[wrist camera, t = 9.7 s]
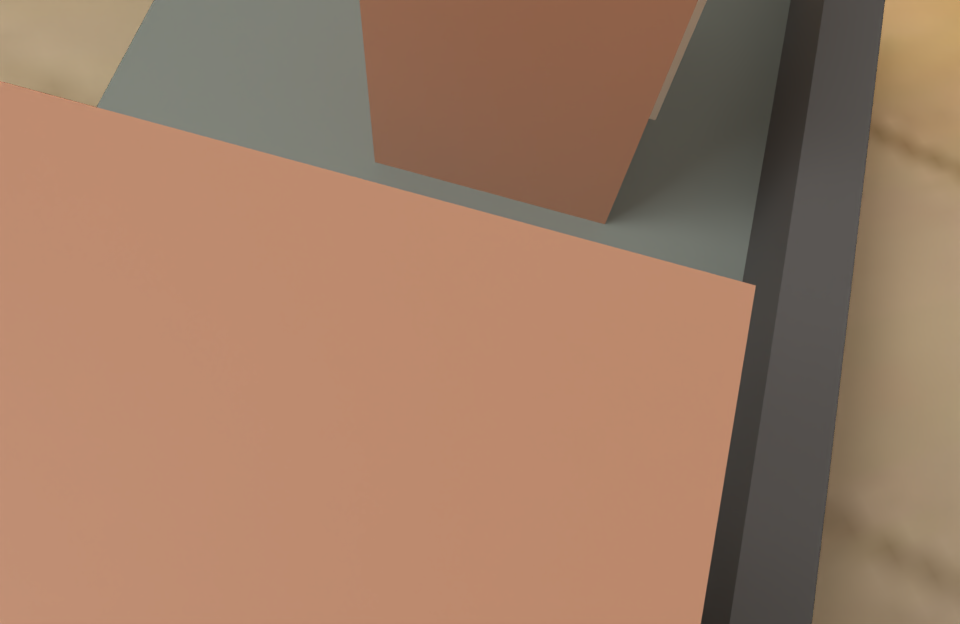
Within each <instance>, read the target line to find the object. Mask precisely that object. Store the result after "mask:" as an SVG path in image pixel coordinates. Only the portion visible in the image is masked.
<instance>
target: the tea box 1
mask: <svg viewBox="0 0 960 624" xmlns="http://www.w3.org/2000/svg"><path fill="white" fill-rule="evenodd" d="M359 1H360V12H361V22H362V33H363V43H364V53H365V64H366V74H367V85H368V95H369V106H370V116H371V126H372V137H373V147H374V158H375V162H377V163H380V164H384V165H388V166H391V167H395V168H399V169H402V170H406V171H410V172H413V173H417V174H421V175H424V176H428V177H432V178H436V179H439V180H443V181H447V182H450V183H454V184H458V185H461V186H465V187H469V188H472V189H476V190H480V191H484V192H487V193H491V194H495V195H498V196H502V197H506V198H509V199H513V200H517V201H520V202H524V203H528V204H532V205H535V206H539V207H543V208H546V209H550V210H554V211H557V212H561V213H565V214H568V215H572V216H576V217H579V218H583V219H587V220H591V221H594V222H598V223H602V224H605V223H606V221H607V218H608V216H609V213H610V211H611V209H612V206H613V204H614V201H615V199H616V197H617V194H618V192H619V189H620V187H621V184H622V182H623V180H624V177H625V175H626V172H627V170H628V168H629V165H630V163H631V160H632V158H633V156H634V153H635V151H636V148H637V146H638V144H639V141H640V139H641V136H642V134H643V132H644V129H645V127H646V124H647V122H648V120H649V119H652V120H656V118H657V115H658V113H659V111H660V108H661V106H662V104H663V101H664V99H665V97H666V95H667V92H668V90H669V88H670V85H671V83H672V81H673V78H674V76H675V74H676V71H677V69H678V67H679V64H680V62H681V60H682V57H683V55H684V53H685V50H686V48H687V46H688V43H689V41H690V39H691V36H692V34H693V32H694V29H695V27H696V25H697V22H698V20H699V18H700V15H701V13H702V11H703V8H704V6H705V4H706V1H707V0H359Z"/></svg>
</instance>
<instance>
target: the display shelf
mask: <svg viewBox="0 0 960 624" xmlns="http://www.w3.org/2000/svg"><path fill="white" fill-rule="evenodd" d="M884 3H885V0H707V1H706V4H705V6H704V8H703V11H702V13H701V15H700V18H699V20H698V22H697V25H696V27H695V29H694V32H693V34H692V36H691V39H690V41H689V43H688V46H687V48H686V50H685V53H684V55H683V57H682V60H681V62H680V64H679V67H678V69H677V71H676V74H675V76H674V78H673V81H672V83H671V85H670V88H669V90H668V92H667V95H666V97H665V99H664V101H663V104H662V106H661V108H660V111H659V113H658V115H657V118H656V120H652V119H649V120H648V122H647V124H646V127H645V129H644V132H643V134H642V136H641V139H640V141H639V144H638V146H637V148H636V151H635V153H634V156H633V158H632V160H631V163H630V165H629V168H628V170H627V172H626V175H625V177H624V180H623V182H622V184H621V187H620V189H619V192H618V194H617V197H616V199H615V201H614V204H613V206H612V209H611V211H610V213H609V216H608V218H607V221H606V223H605V224H602V223H598V222H594V221H591V220H587V219H583V218H579V217H576V216H572V215H568V214H565V213H561V212H557V211H554V210H550V209H546V208H543V207H539V206H535V205H532V204H528V203H524V202H520V201H517V200H513V199H509V198H506V197H502V196H498V195H495V194H491V193H487V192H484V191H480V190H476V189H472V188H469V187H465V186H461V185H458V184H454V183H450V182H447V181H443V180H439V179H436V178H432V177H428V176H424V175H421V174H417V173H413V172H410V171H406V170H402V169H399V168H395V167H391V166H388V165H384V164H380V163H377V162H375V158H374V147H373V137H372V126H371V116H370V106H369V95H368V85H367V74H366V64H365V53H364V43H363V33H362V22H361V12H360V1H359V0H154V1H153V3H152V5H151V7H150V9H149V11H148V12H147V14H146V16H145V18H144V20H143V22H142V24H141V25H140V27H139V29H138V31H137V33H136V35H135V37H134V38H133V40H132V42H131V44H130V46H129V48H128V50H127V52H126V53H125V55H124V57H123V59H122V61H121V63H120V65H119V66H118V68H117V70H116V72H115V74H114V76H113V78H112V79H111V81H110V83H109V85H108V87H107V89H106V91H105V92H104V94H103V96H102V98H101V100H100V102H99V104H98V105H97V107H98V108H101V109H105V110H109V111H113V112H116V113H120V114H124V115H127V116H131V117H135V118H138V119H142V120H146V121H150V122H153V123H157V124H161V125H164V126H168V127H172V128H175V129H179V130H183V131H186V132H190V133H194V134H198V135H201V136H205V137H209V138H212V139H216V140H220V141H223V142H227V143H231V144H235V145H238V146H242V147H246V148H249V149H253V150H257V151H260V152H264V153H268V154H272V155H275V156H279V157H283V158H286V159H290V160H294V161H297V162H301V163H305V164H309V165H312V166H316V167H320V168H323V169H327V170H331V171H334V172H338V173H342V174H345V175H349V176H353V177H357V178H360V179H364V180H368V181H371V182H375V183H379V184H382V185H386V186H390V187H394V188H397V189H401V190H405V191H408V192H412V193H416V194H419V195H423V196H427V197H431V198H434V199H438V200H442V201H445V202H449V203H453V204H456V205H460V206H464V207H468V208H471V209H475V210H479V211H482V212H486V213H490V214H493V215H497V216H501V217H504V218H508V219H512V220H516V221H519V222H523V223H527V224H530V225H534V226H538V227H541V228H545V229H549V230H553V231H556V232H560V233H564V234H567V235H571V236H575V237H578V238H582V239H586V240H590V241H593V242H597V243H601V244H604V245H608V246H612V247H615V248H619V249H623V250H627V251H630V252H634V253H638V254H641V255H645V256H649V257H652V258H656V259H660V260H663V261H667V262H671V263H675V264H678V265H682V266H686V267H689V268H693V269H697V270H700V271H704V272H708V273H712V274H715V275H719V276H723V277H726V278H730V279H734V280H737V281H741V282H745V283H749V284H752V285H756V287H755V294H754V300H753V306H752V312H751V318H750V324H749V330H748V337H747V343H746V349H745V355H744V361H743V367H742V373H741V380H740V386H739V392H738V398H737V404H736V410H735V416H734V423H733V429H732V435H731V441H730V447H729V453H728V459H727V466H726V472H725V478H724V484H723V490H722V496H721V502H720V509H719V515H718V521H717V527H716V533H715V539H714V545H713V552H712V558H711V564H710V570H709V576H708V582H707V588H706V595H705V601H704V607H703V613H702V619H701V624H812V617H813V608H814V600H815V591H816V582H817V574H818V565H819V557H820V548H821V540H822V531H823V523H824V514H825V506H826V497H827V489H828V480H829V472H830V463H831V455H832V446H833V438H834V429H835V421H836V412H837V404H838V395H839V387H840V378H841V370H842V361H843V353H844V344H845V336H846V327H847V319H848V310H849V301H850V293H851V284H852V276H853V267H854V259H855V250H856V242H857V233H858V225H859V216H860V208H861V199H862V191H863V182H864V174H865V165H866V157H867V148H868V140H869V131H870V123H871V114H872V106H873V97H874V89H875V80H876V72H877V63H878V55H879V46H880V38H881V29H882V20H883V12H884Z"/></svg>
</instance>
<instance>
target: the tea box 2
mask: <svg viewBox="0 0 960 624" xmlns="http://www.w3.org/2000/svg"><path fill="white" fill-rule="evenodd" d="M755 287H756V285H752V284H749V283H745V282H741V281H737V280H734V279H730V278H726V277H723V276H719V275H715V274H712V273H708V272H704V271H700V270H697V269H693V268H689V267H686V266H682V265H678V264H675V263H671V262H667V261H663V260H660V259H656V258H652V257H649V256H645V255H641V254H638V253H634V252H630V251H627V250H623V249H619V248H615V247H612V246H608V245H604V244H601V243H597V242H593V241H590V240H586V239H582V238H578V237H575V236H571V235H567V234H564V233H560V232H556V231H553V230H549V229H545V228H541V227H538V226H534V225H530V224H527V223H523V222H519V221H516V220H512V219H508V218H504V217H501V216H497V215H493V214H490V213H486V212H482V211H479V210H475V209H471V208H468V207H464V206H460V205H456V204H453V203H449V202H445V201H442V200H438V199H434V198H431V197H427V196H423V195H419V194H416V193H412V192H408V191H405V190H401V189H397V188H394V187H390V186H386V185H382V184H379V183H375V182H371V181H368V180H364V179H360V178H357V177H353V176H349V175H345V174H342V173H338V172H334V171H331V170H327V169H323V168H320V167H316V166H312V165H309V164H305V163H301V162H297V161H294V160H290V159H286V158H283V157H279V156H275V155H272V154H268V153H264V152H260V151H257V150H253V149H249V148H246V147H242V146H238V145H235V144H231V143H227V142H223V141H220V140H216V139H212V138H209V137H205V136H201V135H198V134H194V133H190V132H186V131H183V130H179V129H175V128H172V127H168V126H164V125H161V124H157V123H153V122H150V121H146V120H142V119H138V118H135V117H131V116H127V115H124V114H120V113H116V112H113V111H109V110H105V109H101V108H98V107H94V106H90V105H87V104H83V103H79V102H76V101H72V100H68V99H64V98H61V97H57V96H53V95H50V94H46V93H42V92H39V91H35V90H31V89H27V88H24V87H20V86H16V85H13V84H9V83H5V82H2V81H0V624H701V619H702V613H703V607H704V601H705V595H706V588H707V582H708V576H709V570H710V564H711V558H712V552H713V545H714V539H715V533H716V527H717V521H718V515H719V509H720V502H721V496H722V490H723V484H724V478H725V472H726V466H727V459H728V453H729V447H730V441H731V435H732V429H733V423H734V416H735V410H736V404H737V398H738V392H739V386H740V380H741V373H742V367H743V361H744V355H745V349H746V343H747V337H748V330H749V324H750V318H751V312H752V306H753V300H754V294H755Z"/></svg>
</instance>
